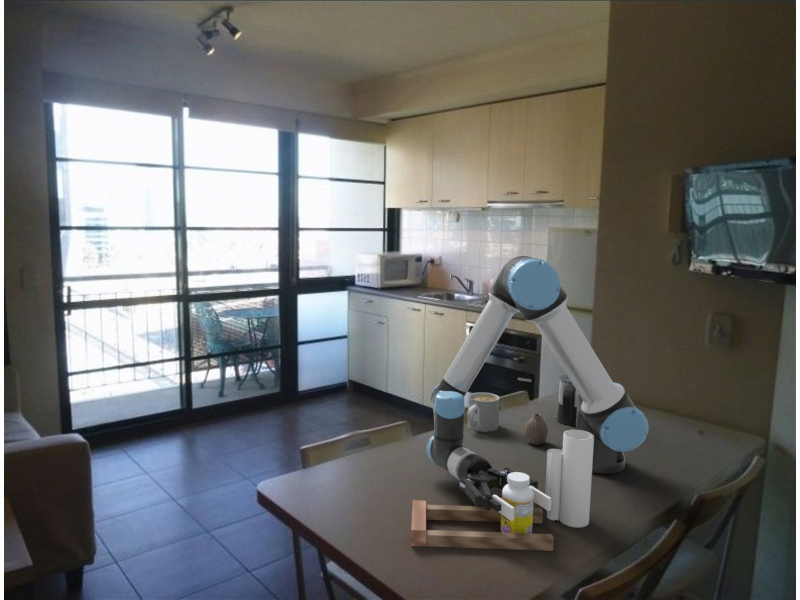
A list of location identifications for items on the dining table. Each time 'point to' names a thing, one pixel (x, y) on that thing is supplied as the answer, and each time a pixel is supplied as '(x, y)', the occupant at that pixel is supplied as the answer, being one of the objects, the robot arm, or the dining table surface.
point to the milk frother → (567, 401)
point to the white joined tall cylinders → (570, 479)
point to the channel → (470, 538)
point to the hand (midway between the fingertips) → (531, 509)
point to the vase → (536, 430)
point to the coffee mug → (483, 412)
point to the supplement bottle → (518, 503)
